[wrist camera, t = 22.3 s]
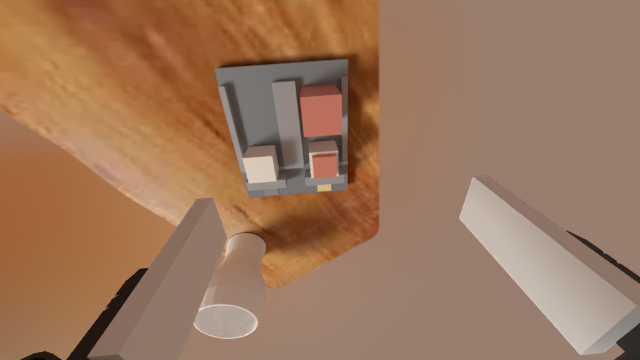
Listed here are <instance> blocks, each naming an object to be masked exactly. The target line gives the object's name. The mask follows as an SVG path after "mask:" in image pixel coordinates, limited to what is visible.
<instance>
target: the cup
mask: <svg viewBox="0 0 640 360" xmlns="http://www.w3.org/2000/svg"><path fill="white" fill-rule="evenodd" d="M265 252H266V243H265V242H264V240H263V239H262V238H260V237H259V236H257V235H254V234H251V233H240V234H236V235H234V236H233V237H231V238H230V240H229V242H228V245H227V250H226V256H225V259H224V260H223V262H222V264H221V265H220V266H219V267H218V268H216V269H215V270H214V273H213V275H212V278H211V280H210V283H209V285H208V288H207V290H206V293H205V295H204V298H203V300H202V303H201V305H200V308H199V311H198V313H197V316H196V318H195V321H194V323H193V324H194V326H195V327H196V328H197V329H198V330H199V331H201V332H202V333H205V334H207V335H209V336H213V337H217V338H229V339H231V338H239V337H243V336H246V335H248V334H250V333H252V332H253V331H254V330H255V329H256V327H257V326H258V324H259V321H260V319H261V316H262V314H263V311H264V305H265V299H266V290H265V282H264V279H263V276H262V274H261V262H262V260H263V257H264V255H265Z"/></svg>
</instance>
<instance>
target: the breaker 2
mask: <svg viewBox="0 0 640 360" xmlns="http://www.w3.org/2000/svg"><path fill="white" fill-rule="evenodd" d="M308 144H309V160H310V171H311V178H314V179H315V178H328V177H337V176H339V165H338V148H337V145H336V142H335V140H330V141H317V142H308Z"/></svg>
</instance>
